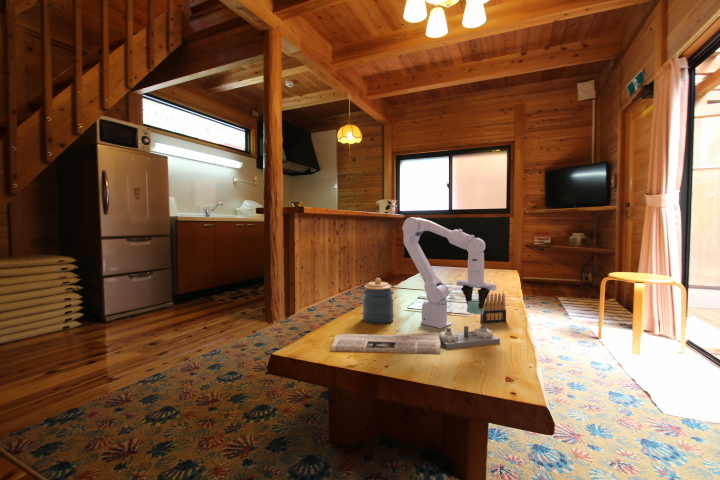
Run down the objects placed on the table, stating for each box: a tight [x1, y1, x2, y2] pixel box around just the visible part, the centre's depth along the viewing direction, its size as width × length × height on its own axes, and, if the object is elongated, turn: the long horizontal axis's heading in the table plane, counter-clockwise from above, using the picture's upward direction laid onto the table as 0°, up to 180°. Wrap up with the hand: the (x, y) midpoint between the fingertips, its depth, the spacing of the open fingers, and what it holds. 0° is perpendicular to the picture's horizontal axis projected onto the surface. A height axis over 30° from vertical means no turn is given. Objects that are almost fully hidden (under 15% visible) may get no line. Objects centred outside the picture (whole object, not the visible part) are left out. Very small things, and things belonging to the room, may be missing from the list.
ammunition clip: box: [479, 291, 507, 325], centre depth 132 cm, size 11×2×12 cm, turn 101°
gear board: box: [439, 324, 501, 350], centre depth 111 cm, size 20×9×5 cm, turn 104°
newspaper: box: [330, 331, 442, 354], centre depth 108 cm, size 35×12×4 cm, turn 86°
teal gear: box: [466, 299, 484, 315], centre depth 122 cm, size 6×6×4 cm
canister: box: [361, 277, 395, 325], centre depth 136 cm, size 13×13×18 cm
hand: (475, 307), depth 122 cm, fingers closed on teal gear, 4 cm apart
